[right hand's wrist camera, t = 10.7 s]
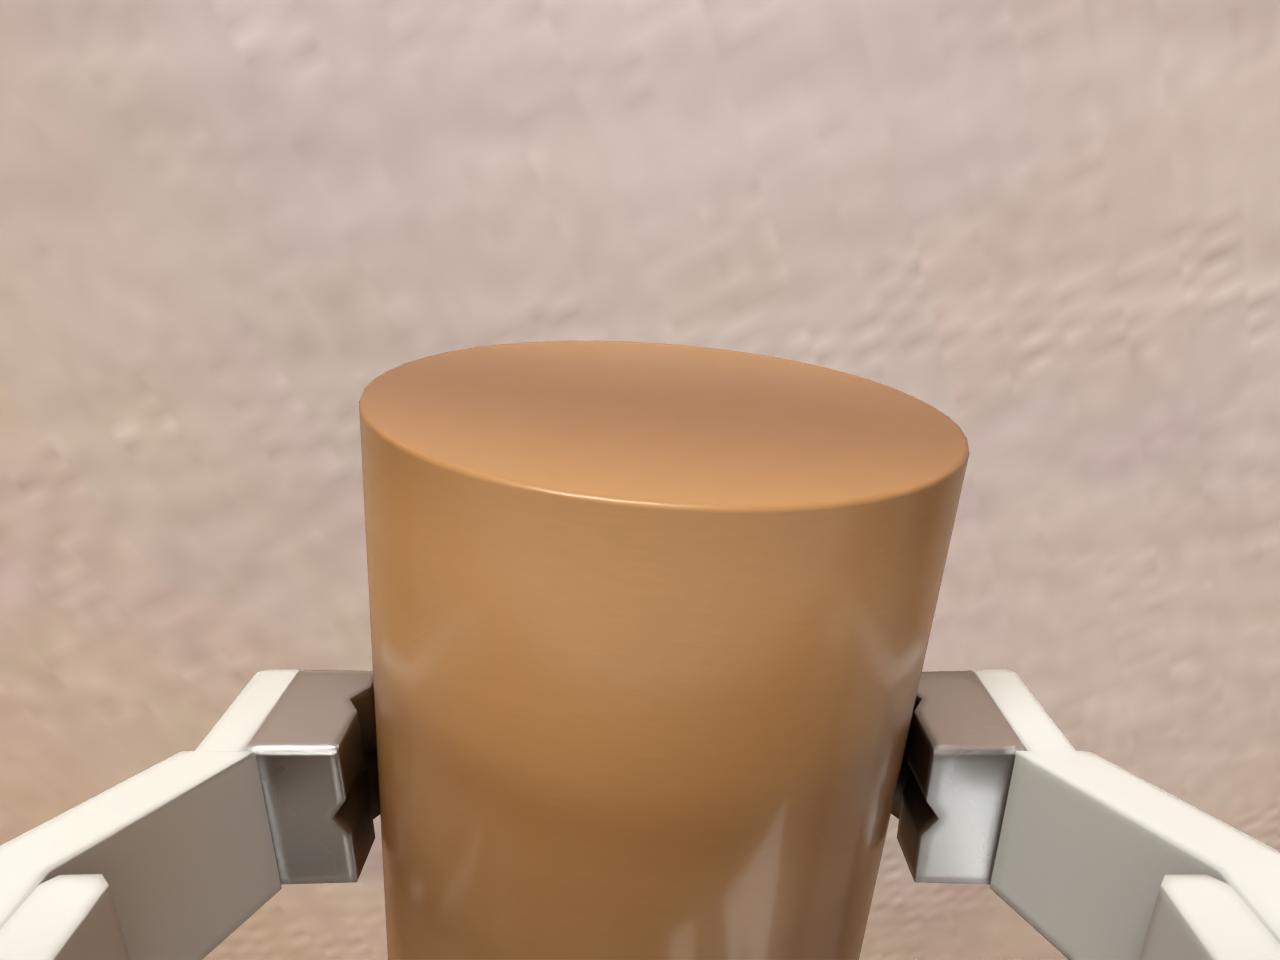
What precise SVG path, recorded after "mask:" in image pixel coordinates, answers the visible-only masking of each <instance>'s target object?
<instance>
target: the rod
mask: <svg viewBox="0 0 1280 960" xmlns="http://www.w3.org/2000/svg"><path fill="white" fill-rule="evenodd" d="M359 410H360V430H361V449H362V468H363V487H364V507H365V526H366V545H367V564H368V583H369V603H370V622H371V641H372V660H373V680H374V699H375V718H376V737H377V756H378V776H379V795H380V814H381V833H382V853H383V872H384V891H385V910H386V929H387V949H388V960H859V957H860V952H861V947H862V943H863V938H864V934H865V929H866V925H867V920H868V915H869V911H870V906H871V902H872V897H873V892H874V888H875V883H876V879H877V874H878V870H879V865H880V860H881V856H882V851H883V847H884V842H885V837H886V833H887V828H888V824H889V819H890V815H891V810H892V805H893V801H894V796H895V792H896V787H897V782H898V778H899V773H900V769H901V764H902V760H903V755H904V750H905V746H906V741H907V737H908V732H909V727H910V723H911V718H912V714H913V709H914V705H915V700H916V695H917V691H918V686H919V682H920V677H921V672H922V668H923V663H924V659H925V654H926V650H927V645H928V640H929V636H930V631H931V627H932V622H933V617H934V613H935V608H936V604H937V599H938V595H939V590H940V585H941V581H942V576H943V572H944V567H945V562H946V558H947V553H948V549H949V544H950V540H951V535H952V530H953V526H954V521H955V517H956V512H957V507H958V503H959V498H960V494H961V489H962V485H963V480H964V475H965V471H966V466H967V462H968V457H969V448H968V442H967V438H966V436H965V435H964V433H963V432H962V430H961V429H960V427H959V426H958V425H957V424H956V423H954V422H953V421H952V420H951V419H950V418H949V417H948V416H946V415H945V414H943V413H942V412H940V411H939V410H937V409H936V408H934V407H932V406H930V405H928V404H926V403H925V402H923V401H921V400H919V399H917V398H915V397H913V396H910V395H908V394H906V393H903V392H901V391H898V390H896V389H894V388H891V387H888V386H885V385H882V384H879V383H877V382H874V381H871V380H868V379H864V378H861V377H857V376H854V375H851V374H847V373H844V372H840V371H836V370H832V369H828V368H824V367H820V366H815V365H810V364H806V363H801V362H797V361H791V360H786V359H781V358H775V357H770V356H764V355H757V354H751V353H744V352H737V351H730V350H722V349H714V348H705V347H695V346H685V345H673V344H660V343H643V342H622V341H546V342H527V343H513V344H502V345H492V346H484V347H476V348H469V349H463V350H457V351H451V352H446V353H442V354H438V355H433V356H429V357H425V358H422V359H419V360H415V361H412V362H409V363H406V364H403V365H401V366H399V367H396V368H394V369H391V370H389V371H387V372H385V373H384V374H382V375H381V376H379V377H377V378H376V379H374V380H373V381H372V382H371V383H370V384H369V385H368V386H367V387H366V388H365V390H364V392H363V394H362V397H361V399H360V401H359Z"/></svg>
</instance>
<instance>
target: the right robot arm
mask: <svg viewBox="0 0 1280 960" xmlns="http://www.w3.org/2000/svg"><path fill="white" fill-rule="evenodd" d="M891 814H893V815H894V816H895V817H897V818H898V819H899V825H898V833H897V839H898V841H899V844H900V846H901V849H902V851H903V854H904V856H905V859H906V861H907V864H908V866H909V869H910V871H911V874H912V876H913V879H914V881H915V882H925V883H960V884H990V889H992V890H993V891H994V892H995V893H996V894H997V895H998V896H999V897H1000V898H1002V899H1003V900H1004V901H1005V902H1006V903H1007V904H1008V905H1009V906H1010V907H1011V908H1013V909H1014V910H1015V911H1016V912H1017V913H1018V914H1019V915H1020V916H1021V917H1022V918H1024V919H1025V920H1026V921H1027V922H1028V923H1029V924H1030V925H1031V926H1032V927H1034V928H1035V929H1036V930H1037V931H1038V932H1039V933H1040V934H1041V935H1042V936H1043V937H1045V938H1046V939H1047V940H1048V941H1049V942H1050V943H1051V944H1052V945H1053V946H1054V947H1056V948H1057V949H1058V950H1059V951H1060V952H1061V953H1062V954H1063V955H1064V956H1066V957H1067V958H1068V959H1069V960H1280V852H1279V851H1277V850H1275V849H1273V848H1272V847H1270V846H1268V845H1266V844H1264V843H1262V842H1260V841H1258V840H1256V839H1255V838H1253V837H1251V836H1249V835H1247V834H1245V833H1243V832H1241V831H1239V830H1238V829H1236V828H1234V827H1232V826H1230V825H1228V824H1226V823H1224V822H1222V821H1220V820H1219V819H1217V818H1215V817H1213V816H1211V815H1209V814H1207V813H1205V812H1203V811H1202V810H1200V809H1198V808H1196V807H1194V806H1192V805H1190V804H1188V803H1186V802H1184V801H1183V800H1181V799H1179V798H1177V797H1175V796H1173V795H1171V794H1169V793H1167V792H1166V791H1164V790H1162V789H1160V788H1158V787H1156V786H1154V785H1152V784H1150V783H1148V782H1147V781H1145V780H1143V779H1141V778H1139V777H1137V776H1135V775H1133V774H1131V773H1130V772H1128V771H1126V770H1124V769H1122V768H1120V767H1118V766H1116V765H1114V764H1113V763H1111V762H1109V761H1107V760H1105V759H1103V758H1101V757H1099V756H1097V755H1095V754H1094V753H1092V752H1090V751H1076V750H1075V749H1074V747H1073V746H1072V745H1071V743H1070V742H1069V741H1068V740H1067V738H1066V737H1065V736H1064V734H1063V733H1062V732H1061V731H1060V729H1059V728H1058V727H1057V725H1056V724H1055V723H1054V722H1053V720H1052V719H1051V718H1050V716H1049V715H1048V714H1047V713H1046V711H1045V710H1044V709H1043V707H1042V706H1041V705H1040V704H1039V702H1038V701H1037V700H1036V698H1035V697H1034V696H1033V695H1032V693H1031V692H1030V691H1029V689H1028V688H1027V687H1026V685H1025V684H1024V683H1023V682H1022V680H1021V679H1020V678H1019V676H1018V675H1017V674H1016V673H1015V672H1013V671H1011V670H1009V669H993V670H968V671H940V672H921V677H920V682H919V686H918V691H917V695H916V700H915V705H914V709H913V714H912V718H911V723H910V727H909V732H908V737H907V741H906V746H905V750H904V755H903V760H902V764H901V769H900V773H899V778H898V782H897V787H896V792H895V796H894V801H893V805H892V810H891ZM378 815H380V795H379V776H378V756H377V737H376V718H375V699H374V680H373V671H340V670H304V671H303V670H300V669H290V670H263V671H260V672H257V673H256V674H255V675H254V676H253V677H252V679H251V680H250V681H249V683H248V684H247V685H246V686H245V688H244V689H243V690H242V691H241V693H240V694H239V695H238V697H237V698H236V699H235V700H234V702H233V703H232V704H231V705H230V707H229V708H228V709H227V711H226V712H225V713H224V714H223V716H222V717H221V718H220V719H219V721H218V722H217V723H216V724H215V726H214V727H213V728H212V730H211V731H210V732H209V733H208V735H207V736H206V737H205V738H204V740H203V741H202V742H201V744H200V745H199V746H198V747H197V749H196V750H195V751H181V752H179V753H177V754H175V755H173V756H172V757H170V758H168V759H166V760H164V761H162V762H160V763H158V764H156V765H154V766H152V767H150V768H149V769H147V770H145V771H143V772H141V773H139V774H137V775H135V776H133V777H131V778H129V779H127V780H126V781H124V782H122V783H120V784H118V785H116V786H114V787H112V788H110V789H108V790H106V791H104V792H102V793H101V794H99V795H97V796H95V797H93V798H91V799H89V800H87V801H85V802H83V803H81V804H79V805H78V806H76V807H74V808H72V809H70V810H68V811H66V812H64V813H62V814H60V815H58V816H56V817H55V818H53V819H51V820H49V821H47V822H45V823H43V824H41V825H39V826H37V827H35V828H33V829H32V830H30V831H28V832H26V833H24V834H22V835H20V836H18V837H16V838H14V839H12V840H10V841H8V842H7V843H5V844H3V845H1V846H0V960H202V959H203V958H204V957H206V956H207V955H208V954H209V953H210V952H211V951H212V950H213V949H214V948H216V947H217V946H218V945H219V944H220V943H221V942H222V941H223V940H225V939H226V938H227V937H228V936H229V935H230V934H231V933H232V932H233V931H235V930H236V929H237V928H238V927H239V926H240V925H241V924H242V923H244V922H245V921H246V920H247V919H248V918H249V917H250V916H251V915H252V914H254V913H255V912H256V911H257V910H258V909H259V908H260V907H261V906H263V905H264V904H265V903H266V902H267V901H268V900H269V899H270V898H271V897H273V896H274V895H275V894H276V893H277V892H278V891H279V890H280V889H281V884H310V883H344V882H357V881H358V878H359V876H360V873H361V871H362V868H363V866H364V863H365V861H366V859H367V856H368V854H369V851H370V849H371V846H372V844H373V842H374V839H375V832H374V825H373V819H374V818H376V817H377V816H378Z"/></svg>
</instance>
